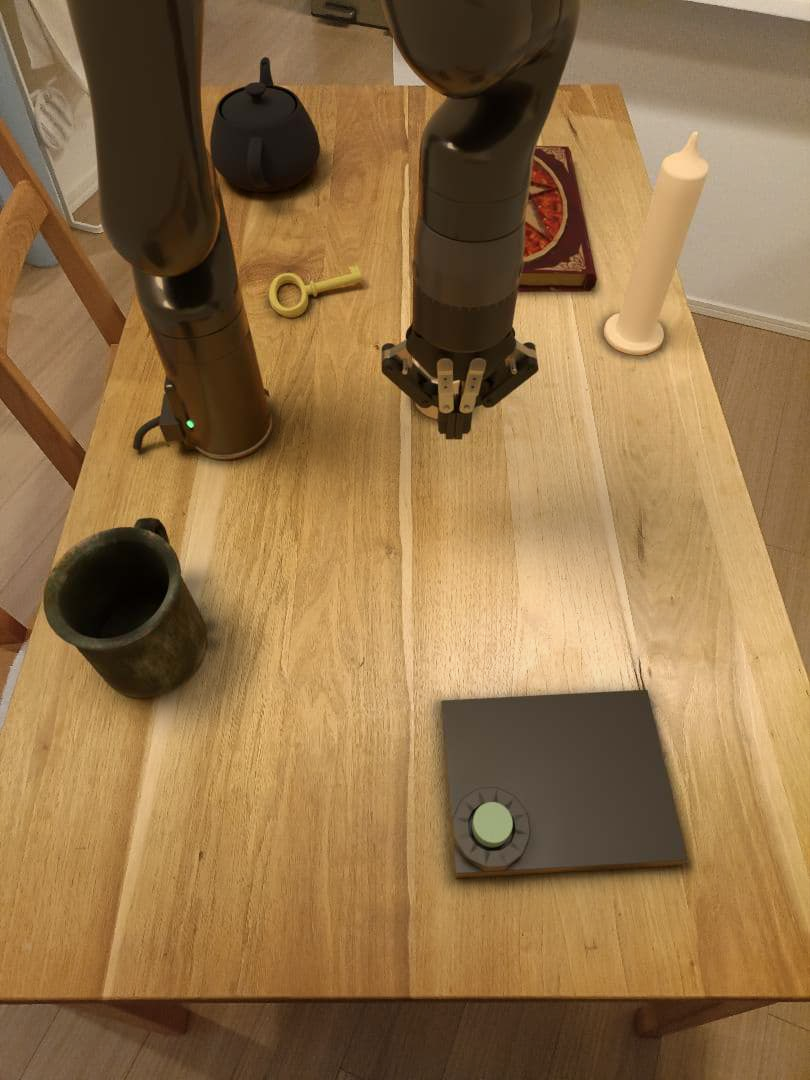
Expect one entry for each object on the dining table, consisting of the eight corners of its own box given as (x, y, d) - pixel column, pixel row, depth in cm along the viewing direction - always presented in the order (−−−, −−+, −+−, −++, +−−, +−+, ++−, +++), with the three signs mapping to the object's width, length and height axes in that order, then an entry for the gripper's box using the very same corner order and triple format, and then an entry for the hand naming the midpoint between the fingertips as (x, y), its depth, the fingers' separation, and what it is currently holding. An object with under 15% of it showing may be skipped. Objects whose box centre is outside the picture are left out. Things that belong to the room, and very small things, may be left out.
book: (592, 294, 98) (601, 261, 94) (428, 292, 98) (430, 259, 94) (567, 167, 114) (574, 134, 110) (425, 165, 114) (426, 131, 109)
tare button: (473, 848, 59) (475, 844, 57) (469, 808, 60) (471, 802, 59) (512, 846, 59) (515, 841, 57) (508, 806, 60) (510, 800, 59)
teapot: (319, 219, 107) (309, 132, 96) (207, 222, 107) (185, 135, 96) (325, 121, 120) (316, 36, 110) (225, 124, 120) (208, 38, 110)
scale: (454, 878, 60) (456, 870, 58) (440, 708, 68) (441, 693, 65) (680, 865, 61) (694, 856, 58) (642, 697, 68) (652, 682, 65)
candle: (661, 359, 91) (735, 156, 70) (601, 351, 92) (657, 148, 71) (663, 319, 95) (733, 115, 74) (605, 312, 96) (658, 108, 75)
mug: (79, 701, 69) (22, 644, 59) (123, 562, 77) (78, 490, 67) (199, 708, 68) (161, 652, 58) (230, 568, 76) (202, 496, 66)
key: (368, 286, 99) (367, 272, 97) (284, 323, 95) (281, 309, 94) (340, 257, 102) (339, 243, 100) (258, 291, 99) (254, 277, 97)
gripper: (555, 234, 56) (523, 400, 70) (372, 234, 55) (378, 401, 70) (568, 303, 52) (531, 465, 66) (371, 304, 51) (378, 466, 66)
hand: (452, 432), depth 68 cm, fingers closed
